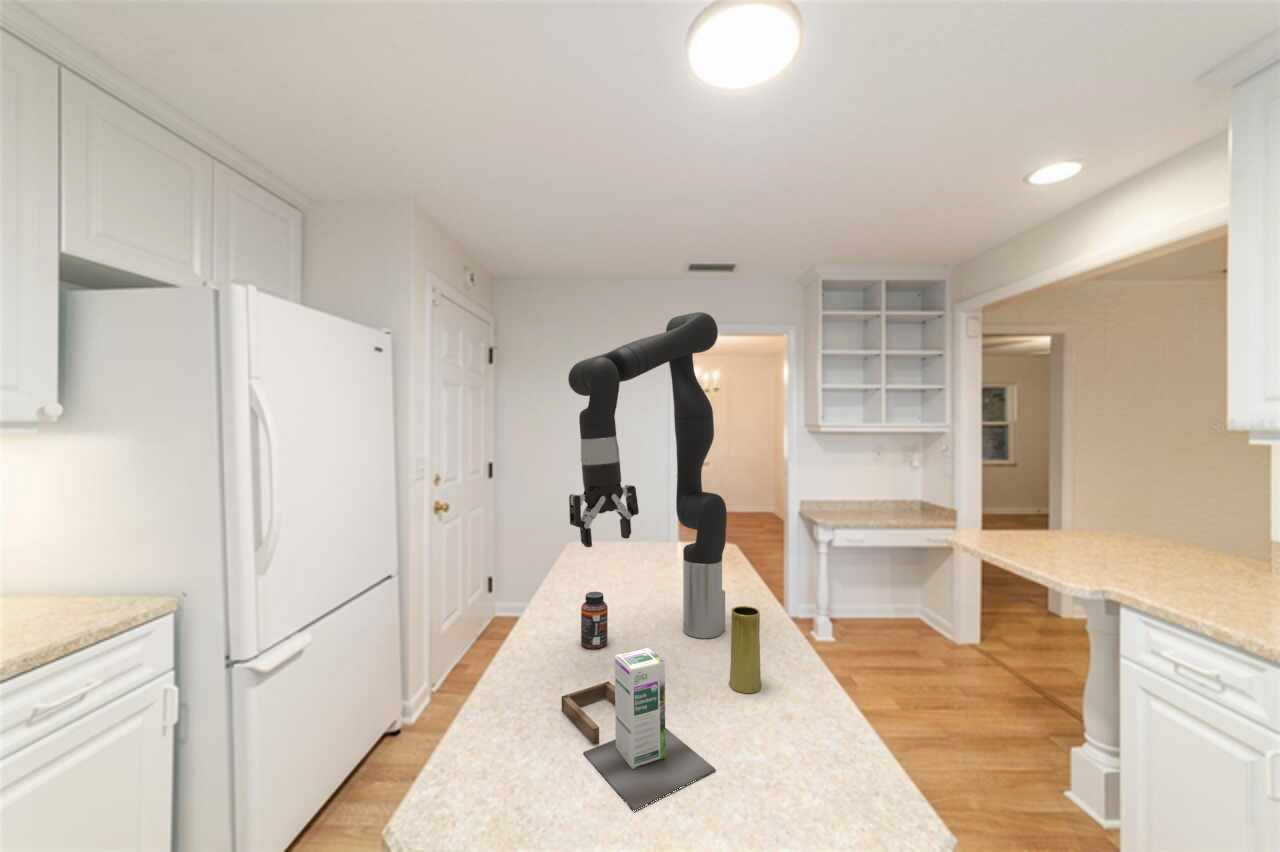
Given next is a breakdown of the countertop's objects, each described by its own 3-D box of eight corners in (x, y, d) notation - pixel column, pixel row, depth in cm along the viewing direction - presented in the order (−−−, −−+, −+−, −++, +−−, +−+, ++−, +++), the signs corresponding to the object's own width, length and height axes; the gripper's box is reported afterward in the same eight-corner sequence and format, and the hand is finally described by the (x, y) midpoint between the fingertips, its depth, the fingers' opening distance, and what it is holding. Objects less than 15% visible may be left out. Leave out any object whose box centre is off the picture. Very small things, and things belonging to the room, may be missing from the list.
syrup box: (631, 770, 74) (631, 669, 74) (614, 747, 79) (614, 653, 79) (666, 758, 77) (666, 660, 77) (647, 736, 82) (647, 645, 82)
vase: (763, 680, 100) (763, 607, 100) (759, 696, 95) (760, 618, 94) (731, 675, 102) (731, 603, 102) (726, 690, 97) (726, 614, 96)
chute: (549, 715, 89) (549, 700, 89) (619, 691, 96) (619, 677, 96) (634, 812, 67) (634, 792, 67) (715, 771, 74) (715, 753, 74)
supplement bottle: (603, 651, 113) (603, 599, 113) (577, 648, 114) (577, 597, 114) (610, 639, 119) (610, 590, 119) (585, 637, 120) (585, 589, 120)
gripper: (576, 466, 95) (583, 553, 96) (641, 457, 103) (647, 538, 103) (559, 464, 101) (566, 546, 102) (621, 455, 109) (627, 532, 110)
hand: (607, 542), depth 103 cm, fingers open, 8 cm apart
